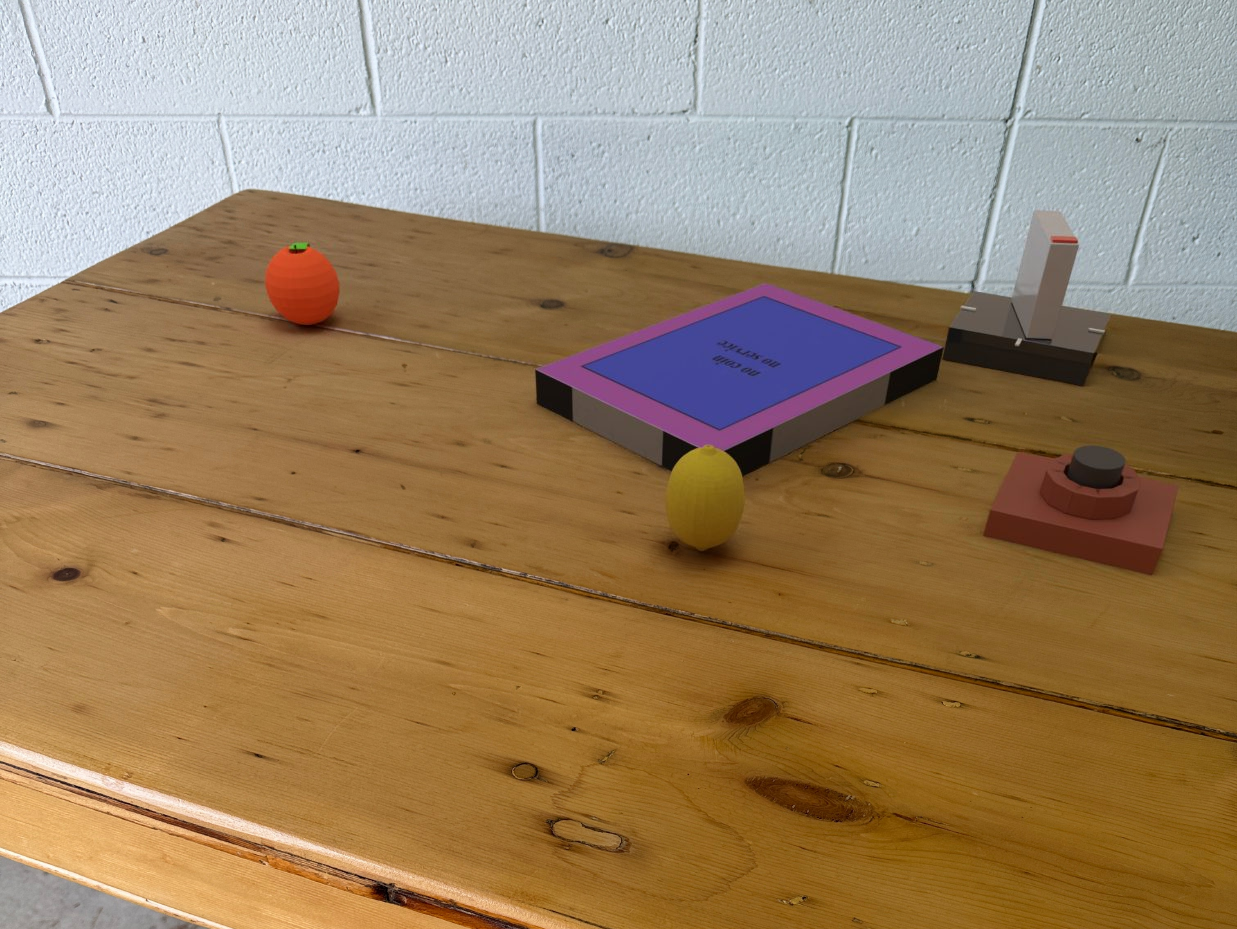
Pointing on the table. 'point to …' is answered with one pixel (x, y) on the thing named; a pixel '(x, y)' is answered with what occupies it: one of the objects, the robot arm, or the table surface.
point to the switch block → (1082, 514)
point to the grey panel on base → (1044, 273)
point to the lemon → (705, 497)
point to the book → (738, 378)
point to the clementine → (302, 284)
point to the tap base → (1024, 340)
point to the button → (1096, 467)
